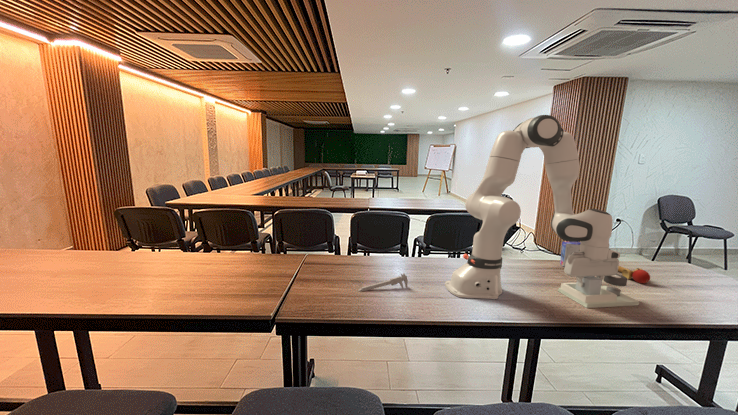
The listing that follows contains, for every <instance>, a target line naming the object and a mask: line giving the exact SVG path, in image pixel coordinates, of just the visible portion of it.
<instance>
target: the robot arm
mask: <svg viewBox="0 0 738 415" xmlns="http://www.w3.org/2000/svg"><path fill="white" fill-rule="evenodd" d="M530 148H539V149H540V151H541V152H542V154H543V157H544V158H543V159H544V160H543V161H544V167H545V173H546V175H547V176H546V177H547V180H548V182H549V185H550V187H551V190H552V198H553V209H554V211H553V214H552V217H551V220H550V226H551V231H553V232H554V233H555V234H556V235H557V236H558V237H559V238H560V239H561V240H563V241H565V242H581V244H580V251H579V252H572V253H571V254H570V255H569V256H568V259H567V261H566V264H565V267H564V269H563V271H564V273H565V274H566V275H567V276H569V277H571V278H575V279H576V282H577V281H578V286H579V287H584V286H585V283H584V282H583V281H582V279H583V278H584V276H595V277H597V278H599V279H601V280H602V281H603V280H604V276H613V275H616V274H618V272H619V271H618V267H619V266H620V260H619V259H620V256H621V253H620V252H618V251H615V250H612V249H611V248H610V238H611V237H612V234H613V225H614V224H613V223H614V222H613V215H611V214H610V213H609V212H607V211H604V210H602V209H596V208H588V209H587V210H585V211H582V212H579V213H575V212H574V210H573V202H572V201H573V200H572V199H573V198H572V188H573V185H574V183H575V182H576V181H577V179H578V178H579V175H580V174H579V173H580V159H579V152H578V149H577V148H578V147H577V144H576V141H575V138H574V136H573V134H572V133H570V132H568V131H564V129H563V128H562V126H561V123H560V121H559V120H558V119H557V118H556V117H555V116H553V115H549V114H540V115H537V116H533V117H531V118H528V119H526V120H524V121H522V122H521V123H519V124H518V125H516V127H514V129H513V130H510V129H509V130H504V131H501V132H499V134H498V135H497V136H496V138H495V141H494V143H493V145H492V147H491V151H490V154H489V158H488V161H487V165H486V168H485V172H484V173H483V174H484V175H483V177H482V179H481V181H480V183H479V185H478V186H477V188H476V189H475V191H473V193H471V194H470V195H469V196H468V197H467V198H466V200H465V204H464V205H465V206H464V207H465V210H466V211H467V213H468V214H469V215H471V216H472V217H474V218H475V219H478V220H480V221H482V224H481V227H480V229H479V231H477V232H475V234H474V235H473V242H472V250H471V251H472V252H471V254H470V255H468V253H464V254H463V255H462V258H463V259H464V260H467V262H465V263H463V265H461V266H460V267H458V268H456V269H455V270H454V271H453V272H452V274H451V277H450V280H446V281H445V283H444V286H445V288H446V290H447V291H448V292H450V293H451V294H452V295H454V296H456V297H458V298H468V299H470V298H471V299H487V300H488V299H490V300H491V299H493V300H495V299H496V300H497V299H498V298H499V297H500V295H502V294H503V289H502V288H503V287H502V280H501V270H502V267H503V256H502V255H503V248H504V246H503V245H504V240H505V237H506V234H507V233H508V231H509V229H511V227H512V226H514V225H515V224H517V222H518V221H519V219H520V217H521V212H522V211H521V206H520V205H519V204H518V202H516V201H514V200H513V199H511V198H509V197H506V196H502V195H503V193H504V191H505V190H507V188H508V187H509V186H512V184H514V182H515V181H516V180H515V179H516V177H517V173H518V169H519V166H520V162H521V159H522V154H523V153H524V151H525V149H530Z"/></svg>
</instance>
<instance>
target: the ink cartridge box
mask: <svg viewBox="0 0 738 415" xmlns="http://www.w3.org/2000/svg"><path fill="white" fill-rule="evenodd" d="M580 244H581V241H580V242H569V241H565V240H563V241H562V243H561V249H560V250H561V252H560V260H559V265H561V266H562V267H564V268H565V264H566V261H567V259H568V256H569V255H570V254H571V253H572V252H579V251H580Z"/></svg>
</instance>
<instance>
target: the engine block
mask: <svg viewBox="0 0 738 415" xmlns="http://www.w3.org/2000/svg"><path fill="white" fill-rule="evenodd" d="M582 281H583V282H584V283H585V286H584V287H579V286H578V281H577V280H576V289H577V290H579V291H581V292H583V293H585V294H586V295H599V294H600V291H601V286H603V285H602V284H603V279H602V280H601V279H599V278H597V276H584V278H583V279H582Z"/></svg>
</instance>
